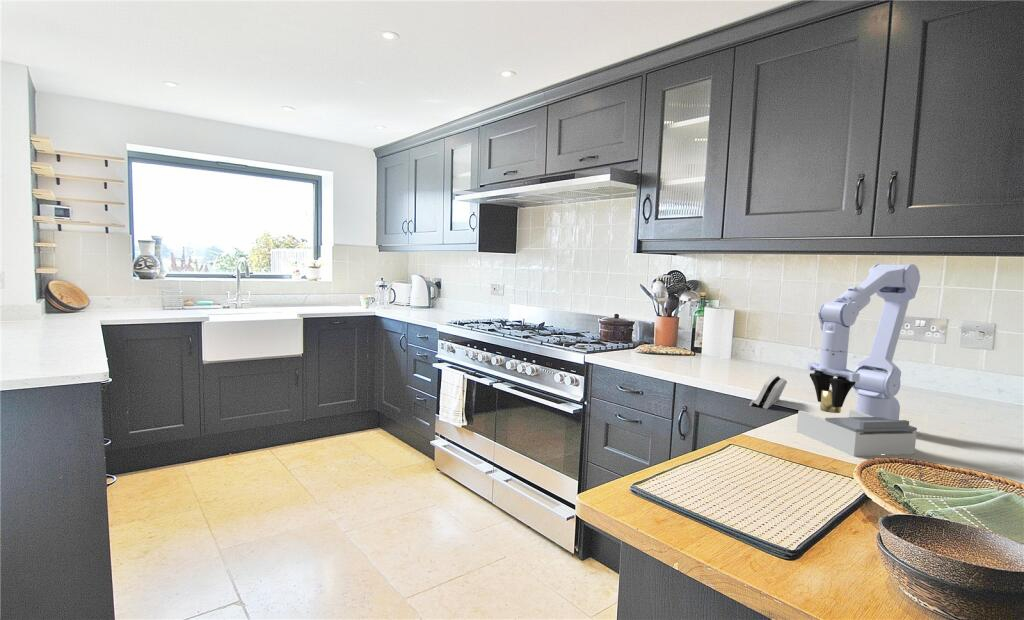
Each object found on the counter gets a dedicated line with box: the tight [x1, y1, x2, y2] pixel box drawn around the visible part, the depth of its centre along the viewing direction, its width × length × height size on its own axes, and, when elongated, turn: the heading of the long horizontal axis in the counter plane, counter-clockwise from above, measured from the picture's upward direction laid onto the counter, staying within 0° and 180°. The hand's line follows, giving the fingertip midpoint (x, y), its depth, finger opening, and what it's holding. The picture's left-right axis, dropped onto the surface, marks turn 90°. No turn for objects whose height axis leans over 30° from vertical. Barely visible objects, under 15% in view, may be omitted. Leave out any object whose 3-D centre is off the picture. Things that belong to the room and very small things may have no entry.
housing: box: [796, 409, 917, 457], centre depth 129 cm, size 16×18×6 cm
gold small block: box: [819, 388, 842, 414], centre depth 134 cm, size 4×4×5 cm
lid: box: [824, 416, 918, 432], centre depth 125 cm, size 16×9×2 cm, turn 101°
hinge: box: [749, 374, 788, 410], centre depth 167 cm, size 17×5×10 cm, turn 142°
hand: (829, 404), depth 134 cm, fingers closed on gold small block, 4 cm apart
